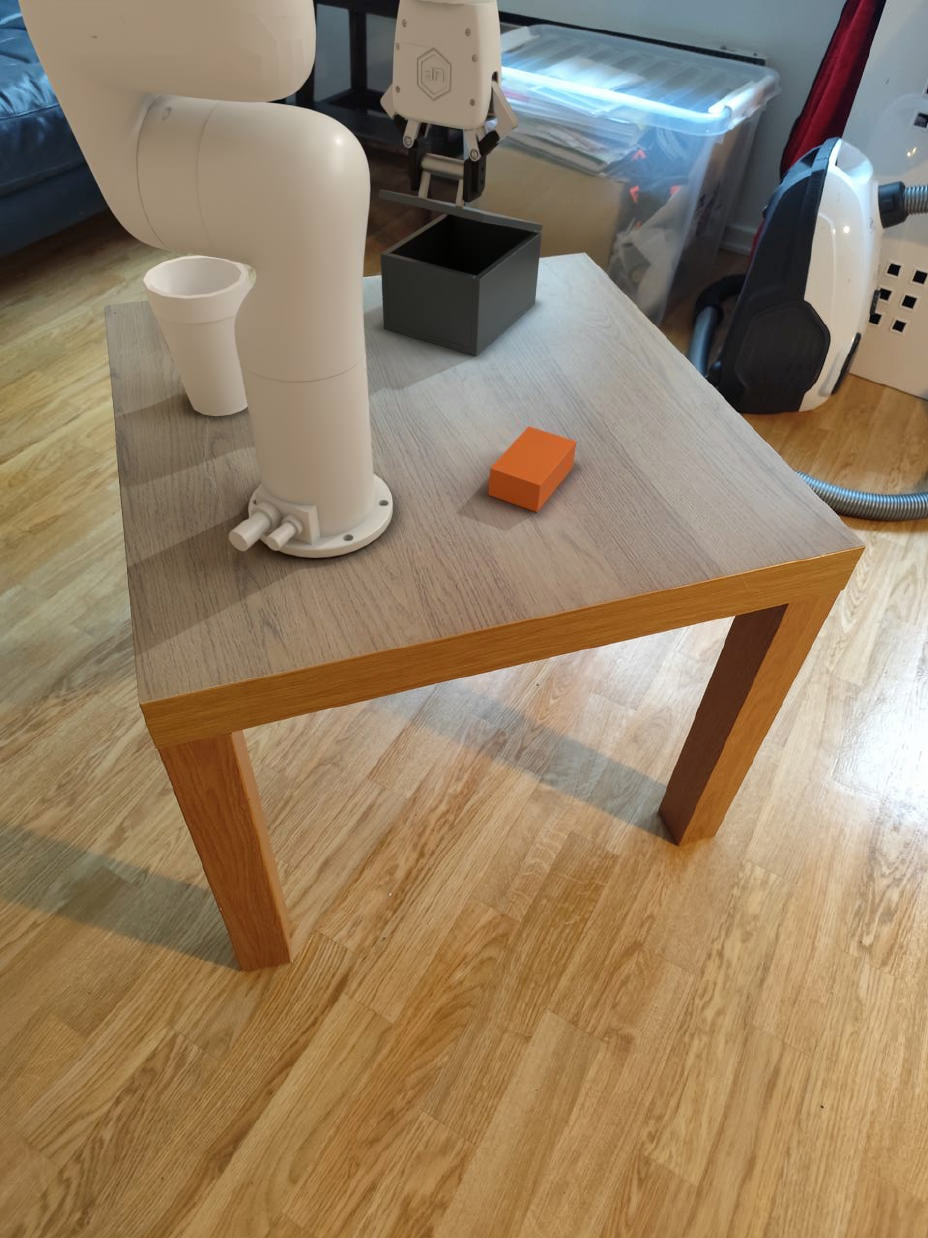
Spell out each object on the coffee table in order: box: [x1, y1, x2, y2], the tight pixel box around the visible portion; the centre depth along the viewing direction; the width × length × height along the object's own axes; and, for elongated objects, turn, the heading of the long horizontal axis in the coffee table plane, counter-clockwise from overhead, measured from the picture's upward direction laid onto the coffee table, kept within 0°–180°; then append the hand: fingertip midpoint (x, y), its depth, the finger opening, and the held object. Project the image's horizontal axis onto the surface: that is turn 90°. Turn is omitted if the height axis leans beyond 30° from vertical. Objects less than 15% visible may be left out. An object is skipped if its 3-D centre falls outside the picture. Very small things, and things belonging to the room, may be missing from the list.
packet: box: [488, 425, 577, 513], centre depth 76 cm, size 8×5×3 cm, turn 151°
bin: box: [380, 213, 543, 357], centre depth 97 cm, size 16×13×9 cm
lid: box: [378, 153, 543, 232], centre depth 91 cm, size 16×13×5 cm
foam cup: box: [142, 255, 252, 417], centre depth 81 cm, size 10×9×13 cm
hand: (446, 191), depth 87 cm, fingers closed on lid, 5 cm apart
